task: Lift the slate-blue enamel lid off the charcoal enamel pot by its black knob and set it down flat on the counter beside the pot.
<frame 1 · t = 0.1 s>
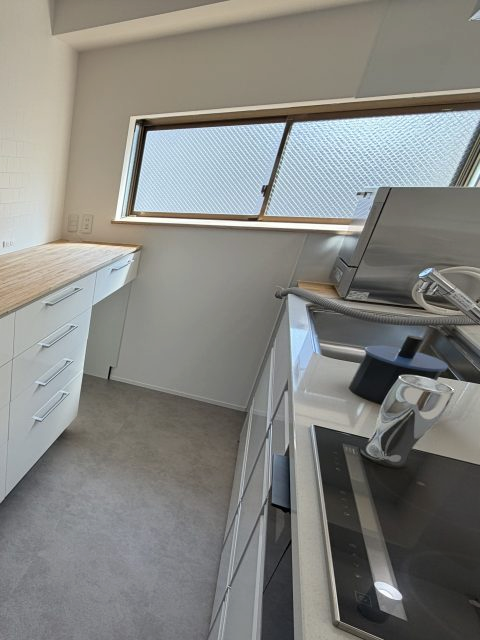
beer glass: (380, 458, 74), on the table
lid: (403, 358, 92), point 9 cm above the table, touching pot
pot: (382, 396, 96), on the table
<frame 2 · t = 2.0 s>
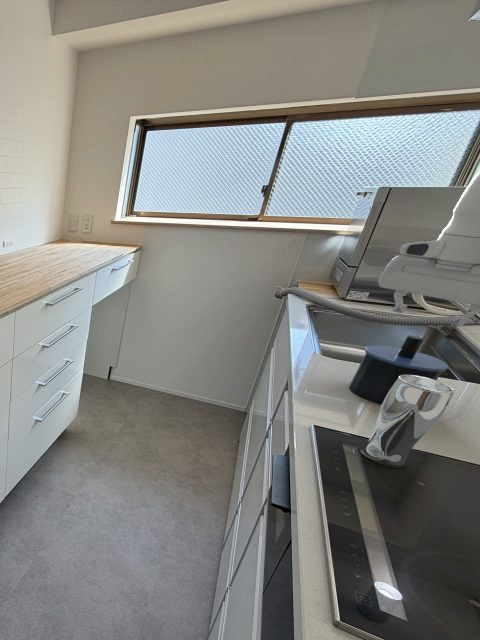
hand: (425, 318, 88), 19 cm above the table, tool pointing down, fingers open, 8 cm apart
nothing on the table moved.
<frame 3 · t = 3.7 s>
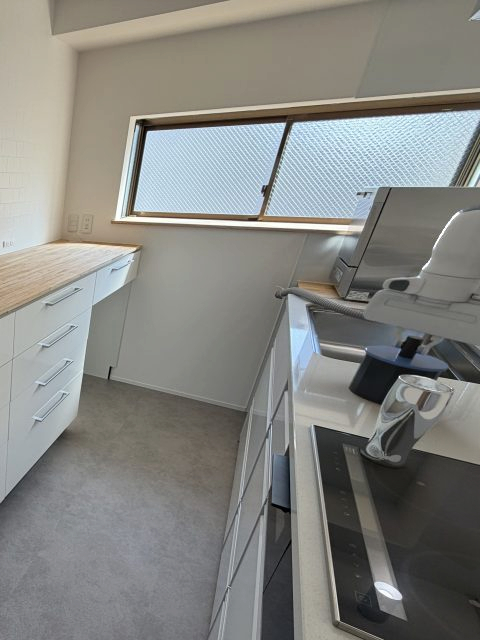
hand: (408, 350, 91), 12 cm above the table, tool pointing down, fingers closed on lid, 2 cm apart
lid: (404, 358, 92), point 10 cm above the table, touching gripper, pot
everything else where it was.
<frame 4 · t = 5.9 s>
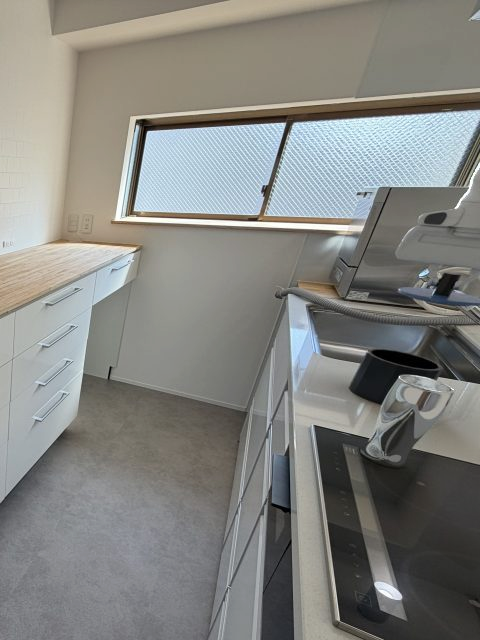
hand: (444, 288, 88), 25 cm above the table, tool pointing down, fingers closed on lid, 2 cm apart
lid: (439, 297, 89), point 23 cm above the table, touching gripper
everything else where it was.
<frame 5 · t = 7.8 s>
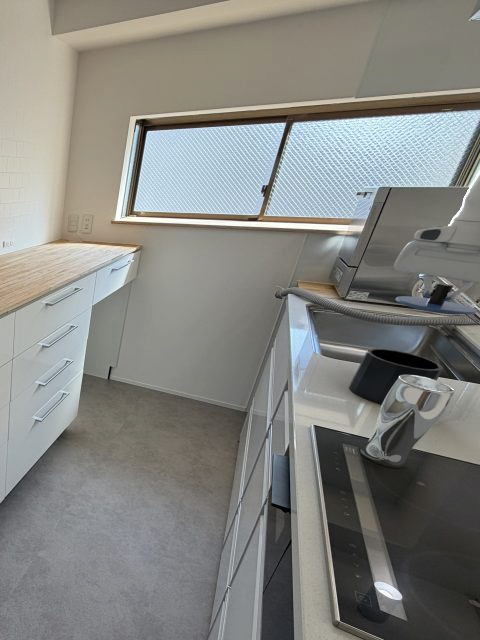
hand: (438, 297, 97), 21 cm above the table, tool pointing down, fingers closed on lid, 2 cm apart
lid: (433, 306, 98), point 19 cm above the table, touching gripper
everything else where it was.
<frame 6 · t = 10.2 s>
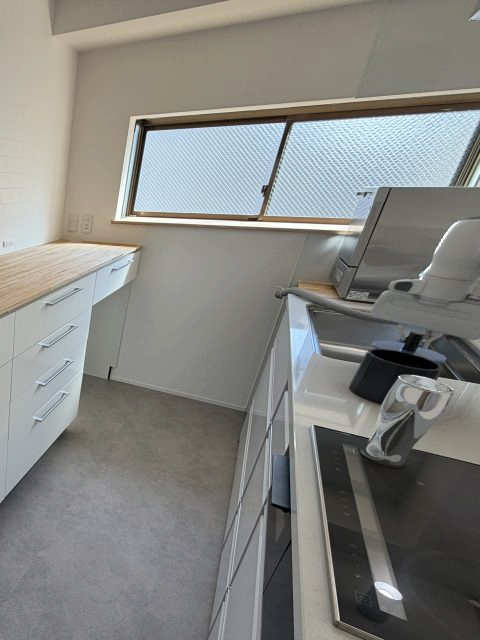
hand: (411, 344, 102), 9 cm above the table, tool pointing down, fingers closed on lid, 2 cm apart
lid: (407, 352, 103), point 7 cm above the table, touching gripper
everything else where it was.
when the fingers open (2 cm above the table, at t = 12.0 s): lid stays where it is, point 1 cm above the table.
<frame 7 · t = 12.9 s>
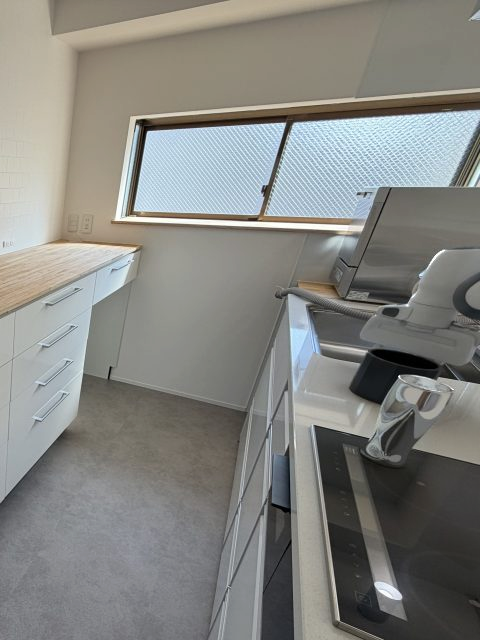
hand: (399, 368, 105), 3 cm above the table, tool pointing down, fingers open, 8 cm apart
lid: (393, 376, 106), point 1 cm above the table
everything else where it was.
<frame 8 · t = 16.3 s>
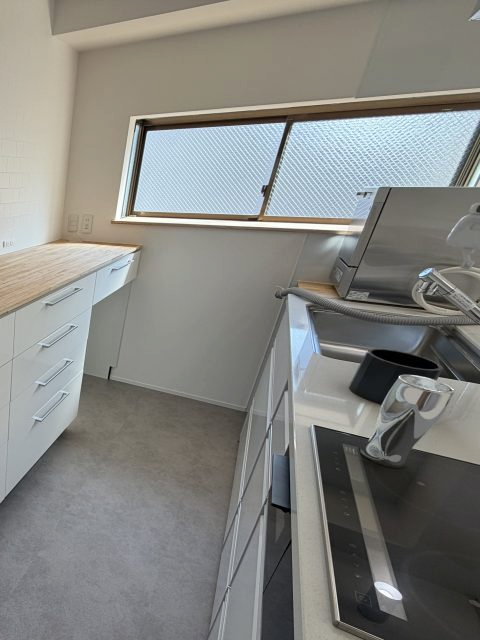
nothing on the table moved.
at the end: lid inside the target area (0.2 cm from its centre), point 0.6 cm above the table; lid tilted 0°; the gripper is holding nothing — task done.
